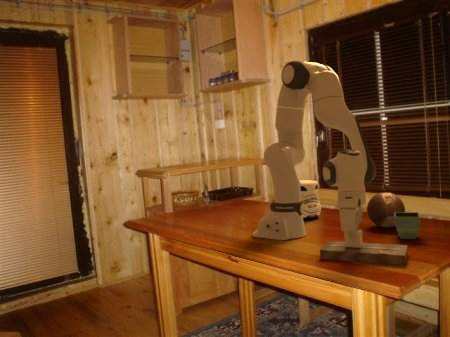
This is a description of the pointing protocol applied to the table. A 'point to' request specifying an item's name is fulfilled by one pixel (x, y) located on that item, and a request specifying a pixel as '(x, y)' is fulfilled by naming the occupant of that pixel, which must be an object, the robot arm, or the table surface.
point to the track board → (365, 253)
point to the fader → (357, 239)
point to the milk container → (310, 199)
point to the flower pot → (407, 224)
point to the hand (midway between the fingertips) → (353, 239)
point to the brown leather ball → (384, 209)
